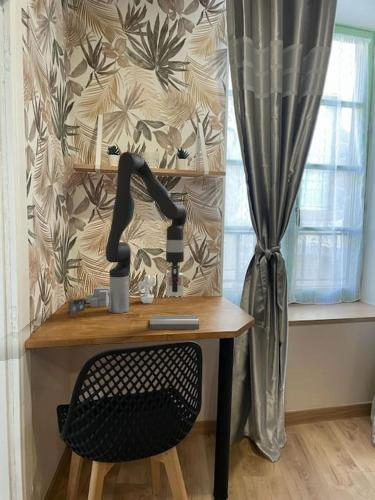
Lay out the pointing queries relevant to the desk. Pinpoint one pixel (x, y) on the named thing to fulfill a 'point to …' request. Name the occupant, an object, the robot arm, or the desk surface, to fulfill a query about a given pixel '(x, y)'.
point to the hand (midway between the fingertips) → (174, 290)
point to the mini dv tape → (76, 306)
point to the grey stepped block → (99, 297)
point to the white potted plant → (147, 289)
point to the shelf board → (174, 322)
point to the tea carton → (180, 285)
